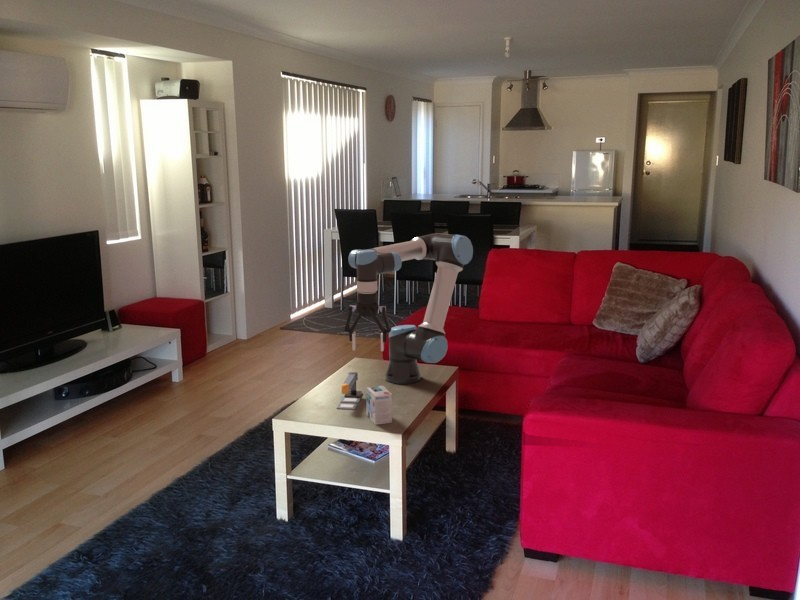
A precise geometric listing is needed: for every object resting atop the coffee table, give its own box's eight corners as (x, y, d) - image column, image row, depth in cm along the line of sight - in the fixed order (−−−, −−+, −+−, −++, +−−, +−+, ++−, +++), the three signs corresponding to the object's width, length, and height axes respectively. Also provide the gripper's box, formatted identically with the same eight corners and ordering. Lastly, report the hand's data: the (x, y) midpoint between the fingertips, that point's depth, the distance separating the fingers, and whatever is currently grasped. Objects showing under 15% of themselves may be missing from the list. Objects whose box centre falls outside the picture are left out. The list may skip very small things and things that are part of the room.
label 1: (360, 399, 275) (360, 397, 275) (358, 403, 271) (358, 402, 270) (343, 398, 276) (343, 397, 276) (340, 402, 271) (340, 401, 271)
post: (362, 393, 282) (361, 378, 281) (359, 398, 276) (359, 382, 275) (347, 393, 283) (347, 377, 281) (344, 398, 277) (344, 382, 275)
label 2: (357, 405, 269) (357, 403, 268) (354, 409, 264) (354, 408, 264) (339, 404, 269) (339, 403, 269) (336, 408, 265) (336, 407, 264)
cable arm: (358, 379, 280) (358, 371, 279) (349, 394, 261) (349, 386, 261) (349, 378, 280) (349, 371, 279) (339, 394, 262) (339, 385, 261)
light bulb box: (365, 415, 258) (365, 387, 256) (383, 412, 260) (382, 385, 258) (375, 425, 248) (374, 396, 246) (393, 422, 250) (392, 393, 248)
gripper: (398, 290, 262) (399, 348, 267) (339, 289, 265) (340, 346, 269) (396, 294, 255) (396, 353, 259) (335, 293, 258) (336, 351, 262)
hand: (368, 349), depth 264 cm, fingers open, 10 cm apart
